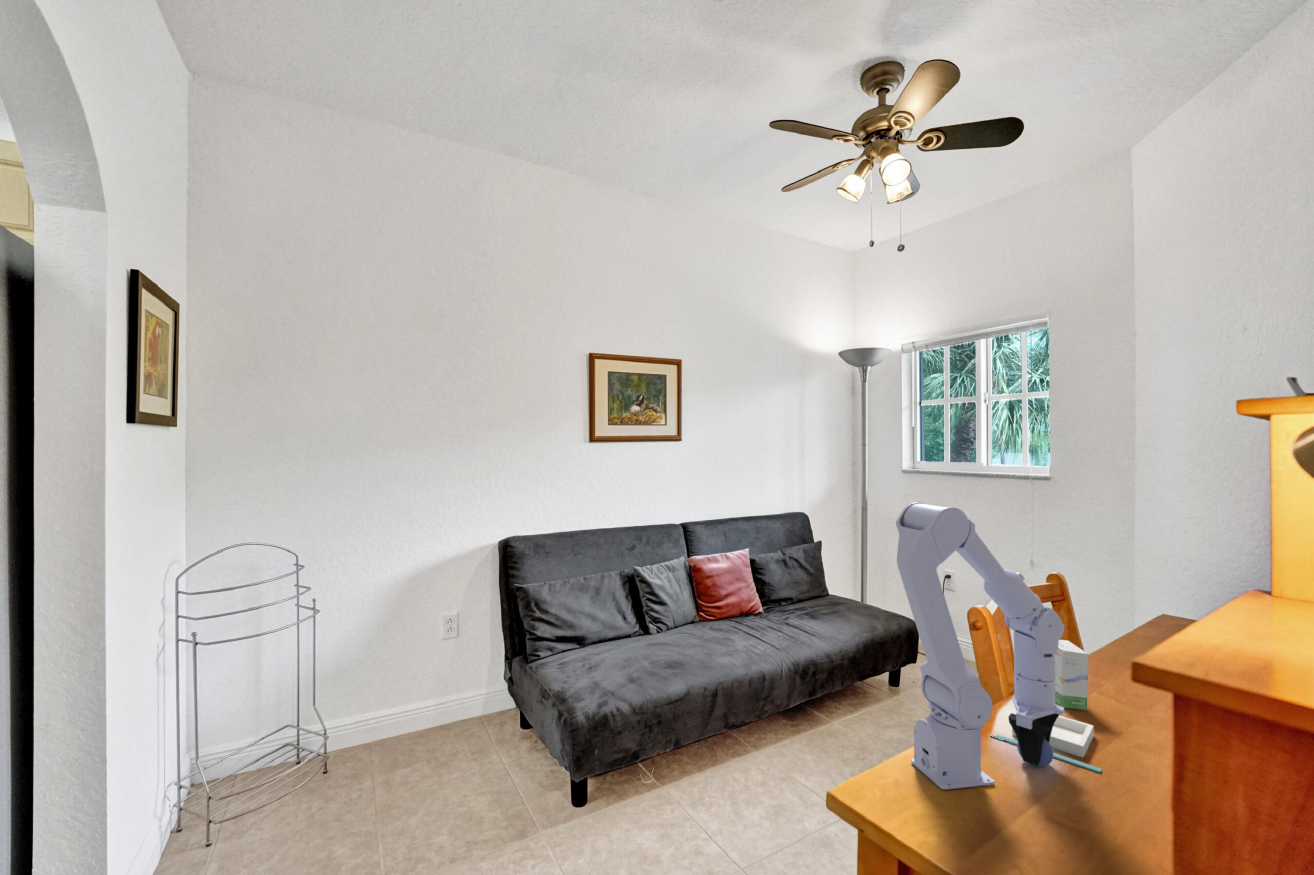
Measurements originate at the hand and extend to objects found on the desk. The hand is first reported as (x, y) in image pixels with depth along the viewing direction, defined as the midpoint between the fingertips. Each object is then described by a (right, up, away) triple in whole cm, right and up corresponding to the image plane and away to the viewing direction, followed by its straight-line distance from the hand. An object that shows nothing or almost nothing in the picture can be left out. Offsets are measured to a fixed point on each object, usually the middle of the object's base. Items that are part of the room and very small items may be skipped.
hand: (1034, 756), depth 93 cm
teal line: (+4, -2, +4) cm, 6 cm away
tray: (+10, -2, +10) cm, 14 cm away
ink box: (+23, -3, +24) cm, 34 cm away
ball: (0, +1, 0) cm, 1 cm away
